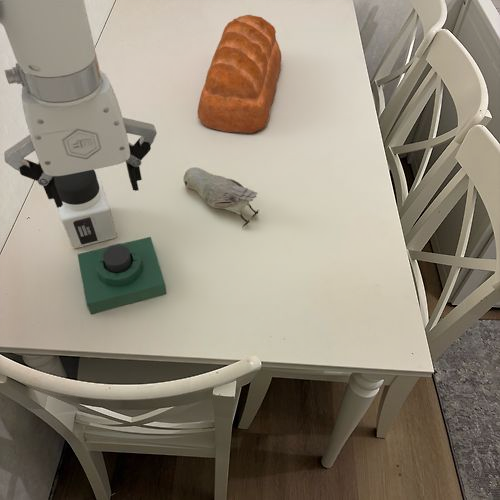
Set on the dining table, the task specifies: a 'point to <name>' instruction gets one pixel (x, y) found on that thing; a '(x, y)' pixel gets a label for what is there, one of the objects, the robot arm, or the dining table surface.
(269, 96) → the bread
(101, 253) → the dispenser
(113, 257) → the dark grey push button
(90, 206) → the container
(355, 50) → the dining table surface
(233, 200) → the decorative bird
